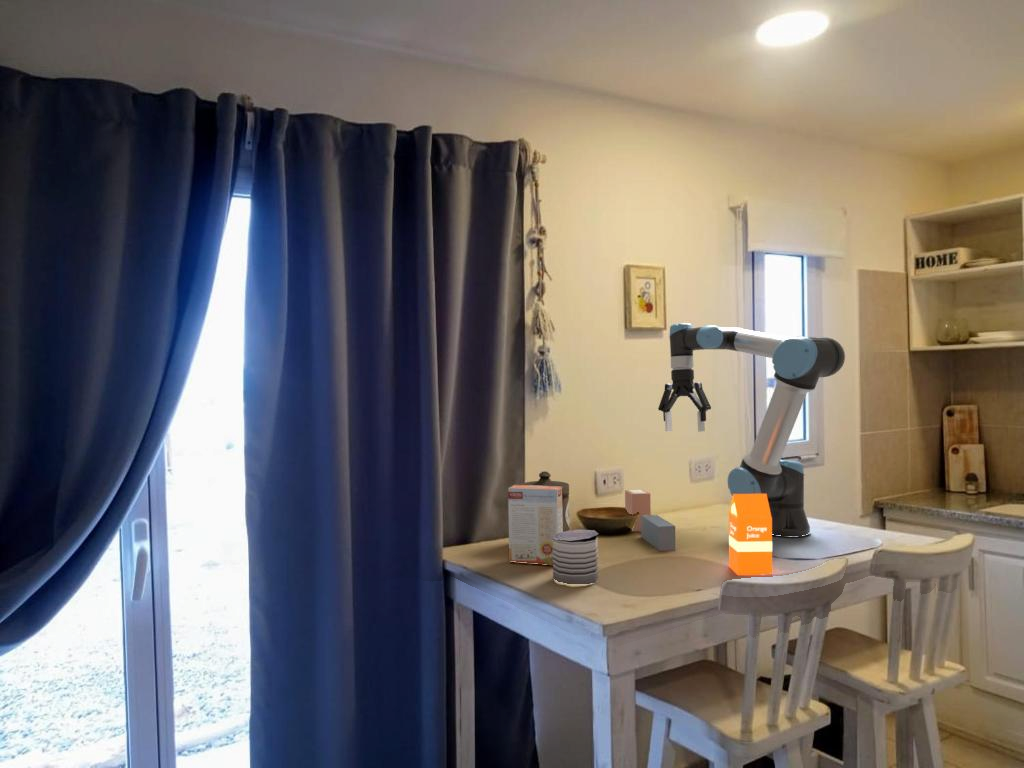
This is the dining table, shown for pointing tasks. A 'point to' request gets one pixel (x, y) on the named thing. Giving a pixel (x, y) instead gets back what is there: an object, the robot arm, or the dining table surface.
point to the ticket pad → (658, 532)
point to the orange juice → (750, 535)
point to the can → (575, 557)
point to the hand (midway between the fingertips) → (684, 431)
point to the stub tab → (637, 505)
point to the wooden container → (546, 481)
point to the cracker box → (534, 522)
